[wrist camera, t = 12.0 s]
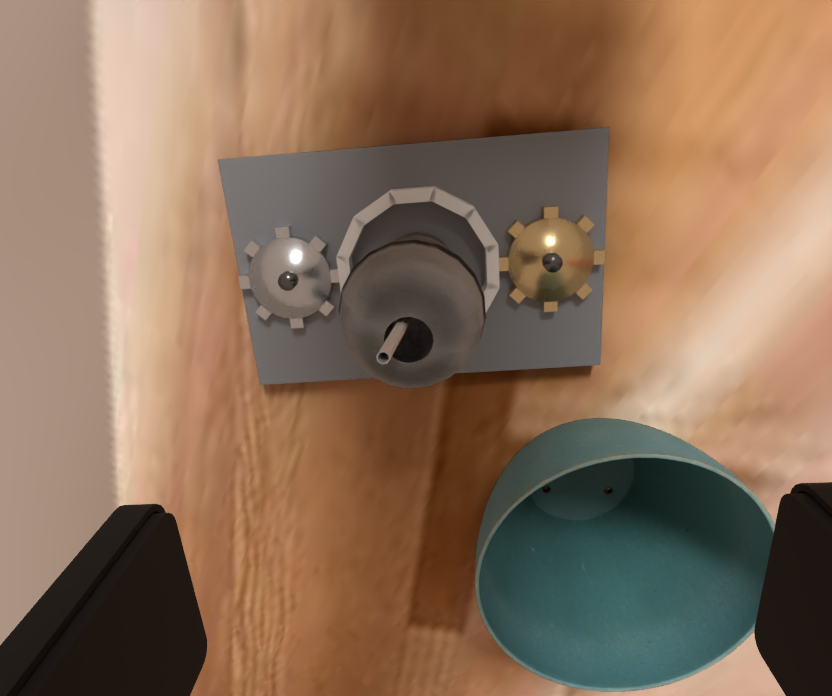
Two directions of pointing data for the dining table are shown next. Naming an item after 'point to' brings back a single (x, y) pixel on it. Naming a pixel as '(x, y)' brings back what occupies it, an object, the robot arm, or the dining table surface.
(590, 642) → the plant pot
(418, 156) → the gear board
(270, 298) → the gear
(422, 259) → the beverage cup
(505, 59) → the dining table surface
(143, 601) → the robot arm
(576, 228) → the gear
